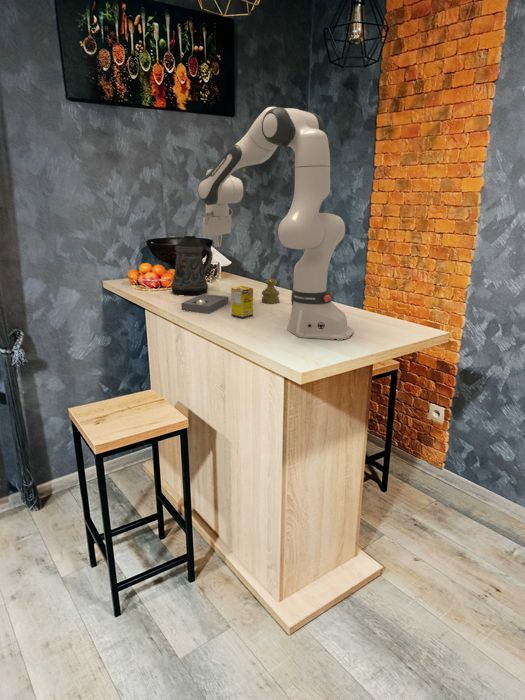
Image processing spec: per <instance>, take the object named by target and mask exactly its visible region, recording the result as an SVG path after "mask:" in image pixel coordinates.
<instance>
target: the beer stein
mask: <svg viewBox="0 0 525 700" xmlns="http://www.w3.org/2000/svg"><path fill="white" fill-rule="evenodd" d="M174 249H175V251H176V257H175V265H174V273H173V278H172V281H171V284H170V286H171V287H170V288H171V292H172V294H173V293H174V294H173V295H175V294H177V295H176V296H179V295H184V296H183V297H197V296H199V295H201V294H207V292H208V288H209V284H208V283H207V280H206V275H205V274H206V273H207V271H208V269H209V268H210V266H211V264H212V262H213V251H212V248H211V247H210V246H209V245H207V243H206V240H204V239H201V238H197V237H196V235H184V237H183V239H181V240H180V241H179V242H178V243H176V245H175V248H174ZM203 252H205V255H206V257H205V261H204V260H203V255H202V253H203Z"/></svg>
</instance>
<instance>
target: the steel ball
mask: <svg viewBox="0 0 525 700" xmlns="http://www.w3.org/2000/svg"><path fill="white" fill-rule="evenodd" d="M196 303H197V304H205V303H206V302H205V301H204V300H202V299H199V300H197V302H196Z"/></svg>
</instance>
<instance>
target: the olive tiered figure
mask: <svg viewBox="0 0 525 700" xmlns="http://www.w3.org/2000/svg"><path fill="white" fill-rule="evenodd" d="M264 283H265V284H266V285H267V287H266V288H265V289H263V290H262V291H261V295H262V296H261V302H262V303H263V304H267V303H268V305H269V304H270V305H272V304H274V303H275V304H279V302H280V296H279V295H280V291H279V290H277V288H275V285H276V284H277V283H278V282H277V280H276V279H274V278H273V277H271V278H270V277H269V278H268V279H266V280H264Z"/></svg>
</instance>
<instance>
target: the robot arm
mask: <svg viewBox="0 0 525 700" xmlns="http://www.w3.org/2000/svg"><path fill="white" fill-rule="evenodd" d="M329 146H330V144H329V139H328V136H327V134H326V133H325V122H324V119H323V118H322V117H321V116H320V115H318V114H316V113H314V112H312V111H306V110H301V109H298V108H294V107H293V108H290V107H287V108H286V107H285V108H284V107H279V106H278V107H277V106H268V107H266V108H264V110H263V111H262V112H261V113H260V114H259V115H258V116H257V118H256V119H255V120H254V122H253V123H252V124H251V126H250V127H249V129H248V130H247V132H246V133H245V135H244V136H243V137H242V138H241V139H240V140H239V141H237V143H235V144H233V145H232V146H231V147H229V148H228V150H226V152H225V153H224V154H223V155H222V156H221V158H220V159H219V160H218V162H217V163H216V164H215V165H214V167H213V168H210V169H207V171H206V173H205V175H204V176H203V177H202V178H201V180H200V181H199V183H198V186H197V194H198V197H199V199H200V200H201V201H202V202H203V204H204V205H205V215H204V217H203V219H202V236H203V237H204V238H211V239H212V240H213V245H214V246H213V247H215V248H218V247H219V248H220V247H221V246H222V241H223V235H227V234H230V233H231V231H232V222H233V221H232V220H233V219H232V215H233V209H231V207H229V204H238V203H240V202H241V201H242V200H243V199H244V197H245V185H244V183H243V181H242V180H241V178H239V177H235V176H233V175H232V174H233V173H234V172H236V171H237V170H239V169H242V168H244V167H248V166H254V165H259V164H260V165H261V164H262V163H265V162H266V161H267V160H269V159H270V158H271V157H272V155H274V152H275V151H276V150H277V148H278V147H281V148H287V147H290V148H291V149H292V151H293V152H294V193H293V197H292V198H293V199H292V202H291V205H290V208H289V210H288V212H287V214H286V215H285V217H283V219H282V220H281V221H280V223H279V225H278V229H277V235H278V239H279V241H280V243H281V245H282V246H283V247H285V248H286V249H287V248H288V249H292V250H300V251H301V250H304V252H303V255H302V256H301V258H300V259H299V260H298V261H297V262H296V263H295V264H294V268H293V284H292V285H293V288H292V290H291V295H290V296H291V299H290V300H291V301H290V302H291V312H290V318H289V322H288V325H287V329H286V330H287V331H288V332H289V333H291V334H294V336H296V337H297V338H305V339H309V338H310V339H321V340H322V339H324V340H334V339H337V341H338V340H339V341H343V339H344V340H348V339H349V338H351V337H352V336H353V334H354V329H353V327H352V326H348V321H347V316H346V314H345V312H344V311H342V310H341V309H340V308H339V307H338V306H337V305H335V303H333V302H332V299H333V297H332V296H333V292H332V291H331V292H330V291H329V290H328V289H327V285H328V283H327V282H328V271H329V266H330V262H331V258H332V256H333V255H334V251H335V249H336V247H337V246H338V245H339V244H340V243H341V241H343V239H344V238H345V237H344V236H345V234H346V225H345V222H344V220H343V219H342V218H341V216H339V215H337V214H334V213H329V212H320V208H321V206H322V203H323V201H324V200H325V199H326V198H327V197H328V196H329V194H330V191H331V152H330V147H329ZM351 335H352V336H351ZM350 336H351V337H350Z"/></svg>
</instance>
